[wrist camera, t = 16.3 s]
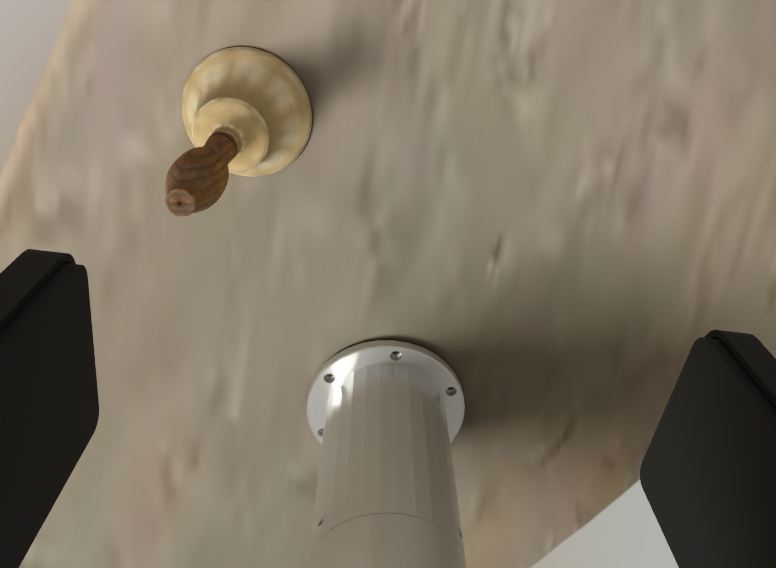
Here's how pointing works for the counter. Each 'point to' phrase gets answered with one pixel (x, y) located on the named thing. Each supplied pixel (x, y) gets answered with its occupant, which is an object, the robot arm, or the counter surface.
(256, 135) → the hand bell
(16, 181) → the counter surface
